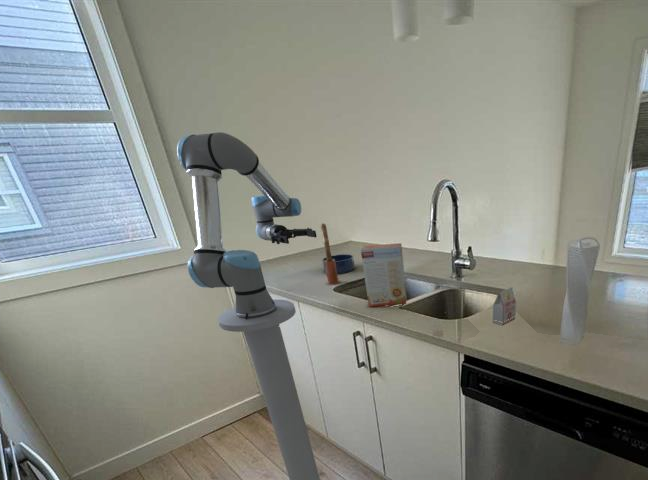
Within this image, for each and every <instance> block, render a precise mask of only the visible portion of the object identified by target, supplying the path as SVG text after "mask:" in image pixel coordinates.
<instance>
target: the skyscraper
mask: <svg viewBox="0 0 648 480" xmlns="http://www.w3.org/2000/svg"><path fill="white" fill-rule="evenodd" d="M591 240H593V241H595V244H594V243H591V242H592V241H591ZM600 248H601V244H600V241H599V240H598V239H597V238H596V237H593V236H583V237H581V238H580V239H574V240H573V239H572V240H570V241H569V242H567V249H566V265H565V266H566V267H565V269H566V271H565V274H566V275H565V277H566V279H565V280H566V284H565V285H566V291H565V294H564V300H563V307H562V314H561V324H560V332H559V344H563V345H569V346H577V347H580V346H581V342H582V341H583V339H584V336H585V331H586V327H587V320H588V316H589V306H590V284H591V281H592V278H593V275H594V272H595V269H596V265H597V260H598V256H599V251H600ZM582 335H584V336H582ZM581 337H582V338H581ZM560 338H566V339H571V340H576V341H579V339H580V338H581V339H580V341H579V343H577V342H573V341H567V340H560Z"/></svg>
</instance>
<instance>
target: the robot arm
mask: <svg viewBox="0 0 648 480" xmlns="http://www.w3.org/2000/svg"><path fill="white" fill-rule="evenodd" d="M176 152H177V153H176V154H177V158H178V161H179V162H180V163H179V164H180V165H181V167H182V168H183V169H184V170H185V171H186V174H187V176H188V177H189V178H191V181H192V182H191V184H192V196H193V205H194V206H193V207H194V208H193V209H194V221H195V231H196V242H197V244H196V247H194V248H193V256H191V257H190V258H189V259H188V261H187V272H188V275H189V277H190V278H191V280H192V281H193V282H194V283H195V284H196V285H197V286H199V287H201V288H208V289H214V288H232V289H233V293H234V294H235V307H236V309H235V312H236V315H237V317H239V318H245V319H247V318H257V317H261V316H265V315H268V314H270V313H272V312H274V311H275V310H276V304H275V302H274V301H273V300H274V299H273V297H272V296H271V294H270V293H269V291H268V290H267V286H266V282H265V278H264V274H263V271H262V266H261V265H262V264H261V262H260V260H259V257H258V255H257V254H256V252H254V251H251V250H247V249H237V250H236V249H235V250H234V249H232V250H226V249H225V248H224V245H223V231H222V221H221V206H220V193H219V182H220V181H221V180H222V179H223V176H222V173H223V172H222V171H224V170H225V171H226V170H233V171H236V172H237V173H238V174H239V175H241V176H245V177H246V178H247V180H249V181H250V183H252V184H253V185H254V187H255V188H256V189H257V190H259V192H260V193H261V194H262V195H255V196H252V197H251V204H252V209H253V213H254V216H255V220H256V227H255V233H256V234H255V235H256V236H257V237H258V238H259V239H261V240H264V241H271V243H272V244H275V243H276V245H280V244H285V245H288V244H290V240H289V239H294V238H297V237H310V238H317V231H316V230H313V228H309V227H307V228H293V229H292V228H291V229H289V228H287V227H286V226H285V225H282V224H275V220H274V218H287V217H289V218H291V217H299V216H300V215H301V213H302V204H301V202H300V200H299V198H297V197H295V198H294V197H291V198H290V196H289V195H288V194H287V193H286V191H284V189H283V188H282V187H281V186H280V185H279V183H277V181H276V180H275V179H274V178H273V176H272V175H271V174H270V173H269V172H268V170H267V169H266V168H265V167H264V165H262V163H261V162H260V158H259V156H258V155H257V154H256V153H255V152H254V150H253V149H252V148H250V146H249V145H248V144H246V143H244V142H243V141H242V140H241V139H239V138H237V137H236V136H234V135H231V134H229V133H226V132H219V131H218V132H212V133H211V132H210V133H200V134H189V135H186V136H183V137H182V138H181V139H180V140H178V143H177V147H176Z"/></svg>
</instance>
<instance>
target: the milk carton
mask: <svg viewBox="0 0 648 480" xmlns="http://www.w3.org/2000/svg"><path fill="white" fill-rule="evenodd" d="M494 300H495V301H494V302H493V305H492V324H494V325H497V326H502V327H503V326H505V325H507V324H509V323H510V322H513V321H514V320H516V310H517V309H516V308H517V300H516V297H515V293H514V290H513V287H508V288H506V289H504V290H502V291H499V292H498V293H497V296H496V298H495V299H494ZM514 316H515V317H514ZM512 317H513V318H512ZM510 318H511V319H510ZM508 319H509V320H508ZM494 320H497V321H494ZM506 320H507V321H506ZM498 321H501V322H503V323H501V322H498ZM504 321H505V322H504Z"/></svg>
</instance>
